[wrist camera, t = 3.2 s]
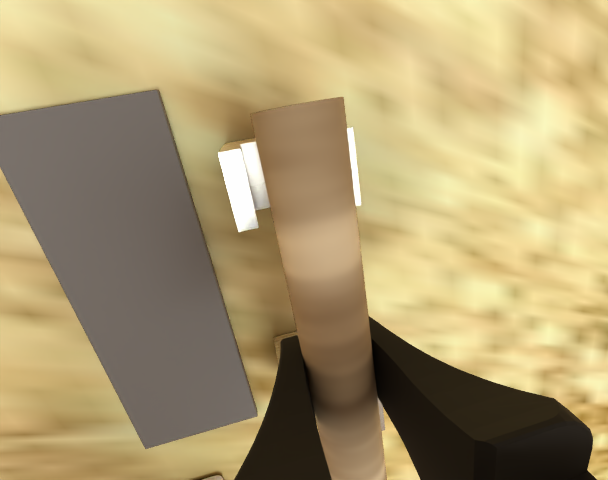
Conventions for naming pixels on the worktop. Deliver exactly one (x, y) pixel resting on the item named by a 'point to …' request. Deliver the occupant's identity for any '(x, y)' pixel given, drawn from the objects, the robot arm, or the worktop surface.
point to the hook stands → (263, 194)
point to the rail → (325, 276)
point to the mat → (130, 258)
